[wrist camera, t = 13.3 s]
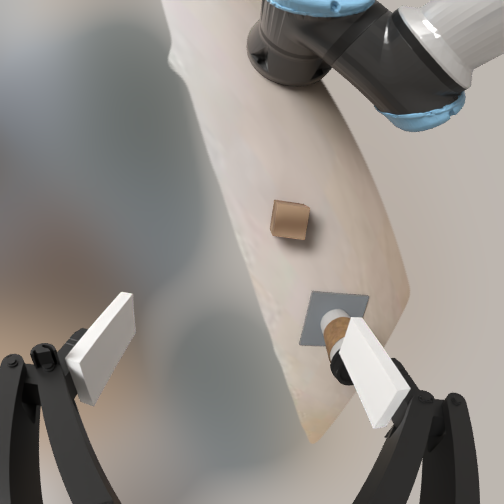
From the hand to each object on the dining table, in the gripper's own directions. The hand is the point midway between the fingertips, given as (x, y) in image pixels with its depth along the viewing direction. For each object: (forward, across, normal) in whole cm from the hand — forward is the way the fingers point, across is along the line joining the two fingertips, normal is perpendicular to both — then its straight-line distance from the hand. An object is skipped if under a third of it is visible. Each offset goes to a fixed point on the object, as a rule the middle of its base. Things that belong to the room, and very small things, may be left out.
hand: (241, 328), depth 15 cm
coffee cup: (+31, +20, -17) cm, 41 cm away
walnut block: (+32, +7, +2) cm, 33 cm away
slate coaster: (+32, +20, -17) cm, 41 cm away
